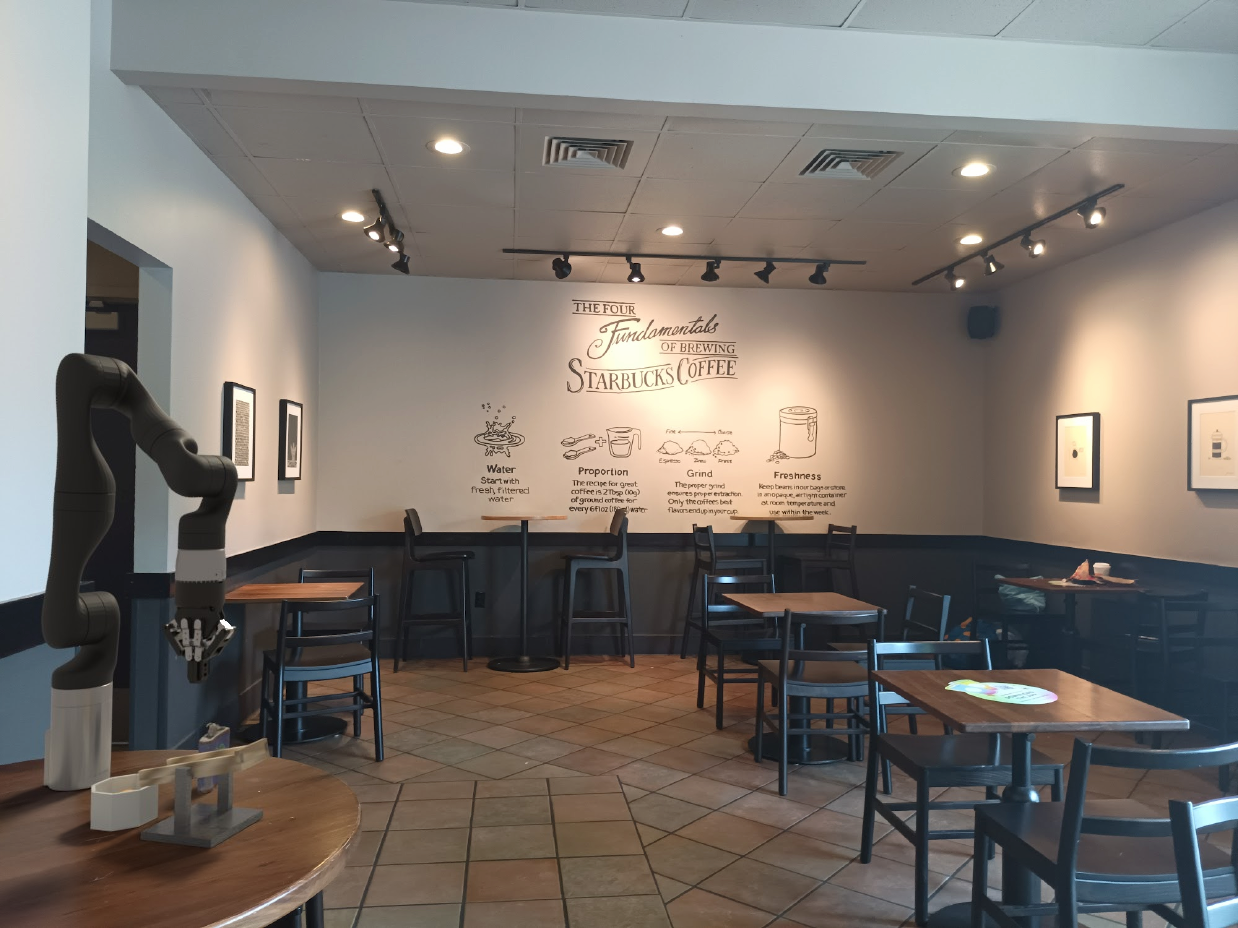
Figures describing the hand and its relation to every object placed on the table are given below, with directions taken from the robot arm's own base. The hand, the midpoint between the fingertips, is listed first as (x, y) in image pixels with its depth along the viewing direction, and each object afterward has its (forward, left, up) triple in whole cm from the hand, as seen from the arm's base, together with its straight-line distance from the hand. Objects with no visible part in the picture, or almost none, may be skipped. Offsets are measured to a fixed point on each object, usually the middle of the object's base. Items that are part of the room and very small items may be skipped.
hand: (197, 682), depth 140 cm
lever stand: (+7, -7, -20) cm, 22 cm away
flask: (-5, +10, -21) cm, 24 cm away
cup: (-7, -7, -20) cm, 23 cm away
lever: (+7, -3, -12) cm, 14 cm away
